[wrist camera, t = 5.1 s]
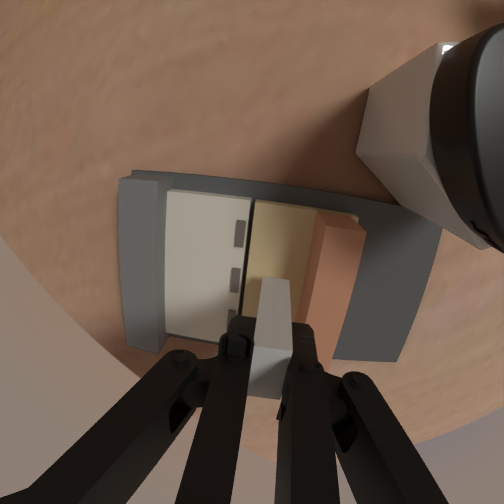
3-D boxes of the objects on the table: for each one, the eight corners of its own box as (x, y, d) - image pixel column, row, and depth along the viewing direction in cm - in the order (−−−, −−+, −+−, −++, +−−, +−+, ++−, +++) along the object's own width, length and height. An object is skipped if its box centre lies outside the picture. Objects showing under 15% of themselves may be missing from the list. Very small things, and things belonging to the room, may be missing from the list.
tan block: (239, 339, 21) (230, 380, 17) (256, 199, 18) (249, 214, 14) (321, 349, 21) (328, 391, 17) (354, 214, 18) (376, 233, 13)
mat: (136, 325, 23) (134, 327, 22) (134, 170, 19) (131, 170, 18) (394, 359, 22) (396, 362, 21) (442, 215, 18) (445, 216, 17)
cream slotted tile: (140, 327, 22) (126, 345, 20) (138, 174, 18) (119, 178, 16) (235, 345, 22) (229, 367, 19) (253, 184, 18) (249, 190, 15)
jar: (369, 216, 18) (471, 307, 7) (335, 91, 16) (413, 10, 5) (477, 188, 17) (604, 235, 5) (451, 75, 14) (576, 39, 3)
